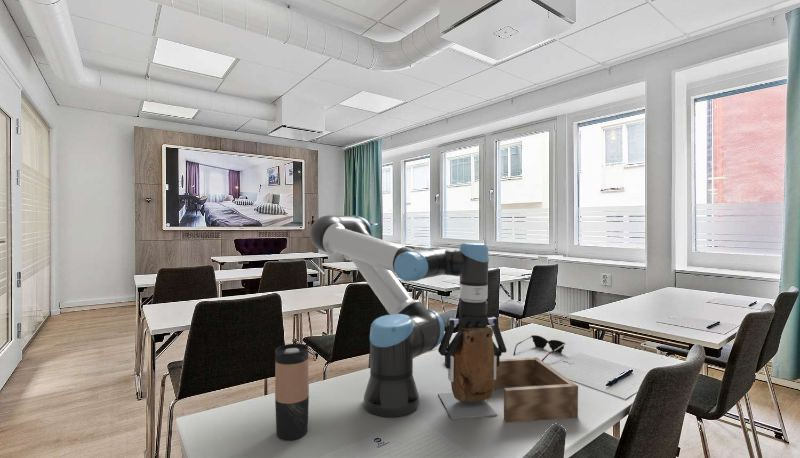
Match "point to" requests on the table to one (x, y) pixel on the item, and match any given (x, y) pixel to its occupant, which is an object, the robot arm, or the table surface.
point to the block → (474, 365)
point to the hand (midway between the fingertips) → (471, 378)
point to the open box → (535, 391)
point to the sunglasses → (542, 342)
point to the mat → (465, 407)
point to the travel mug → (291, 391)
